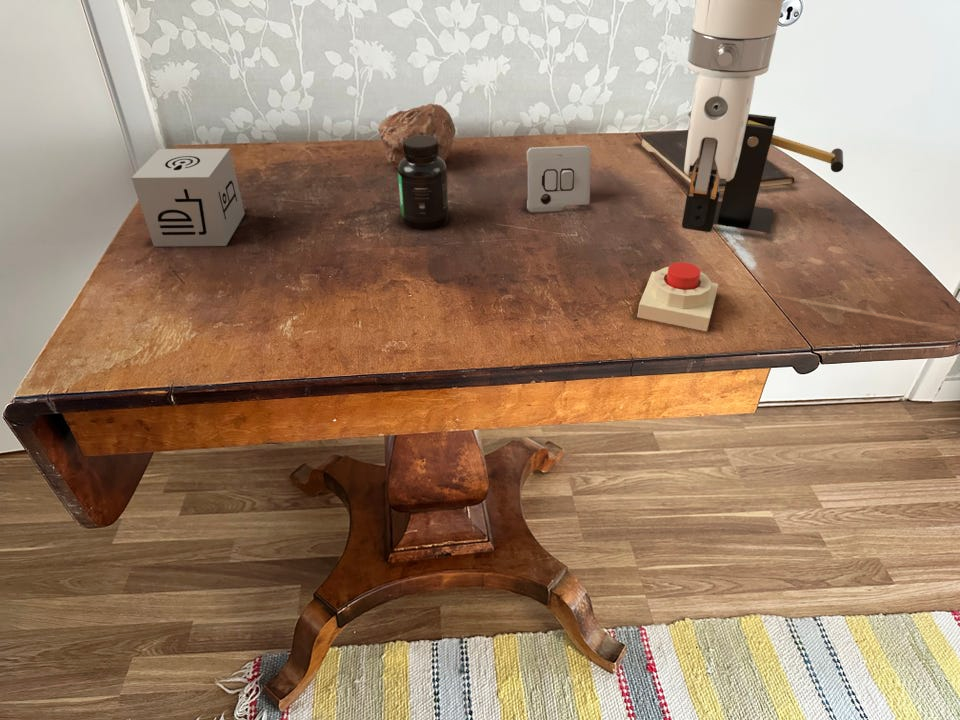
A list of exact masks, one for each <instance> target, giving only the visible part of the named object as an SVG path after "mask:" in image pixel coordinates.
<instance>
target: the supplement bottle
mask: <svg viewBox="0 0 960 720" xmlns="http://www.w3.org/2000/svg"><path fill="white" fill-rule="evenodd" d="M403 155H404V157H405V158H403V159H402V160H401V161H400V163H399V165H398V169H397V180H398V181H397V182H398V192H399V204H400V215H401V222H402V224H403V225H404V226H405V227H407V228H409V229H412V230H418V231H428V230H436V229H438V228H441V227H443V226H445V225H446V224H447V223H448V221H449V197H448V169H447V167H448V166H447V164H446V161H444V160H443V159H442V158H440V157H439V156H438V155H439V146H438V140H437V138H435V137H432V136H427V135H417V136H411V137H408V138H406V139H405V140H404V141H403Z"/></svg>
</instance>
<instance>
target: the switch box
mask: <svg viewBox="0 0 960 720" xmlns="http://www.w3.org/2000/svg"><path fill="white" fill-rule="evenodd" d="M668 268H669V266H665V267H663V268H660V269H659V270H657V271H651V274H650V275H649V279H648V281H647V283H646V286H645V288H644V290H643V293H642V296H641V299H640V301H639V303H638V310H637V316H636V317H637V318H639V319H644V320H649V321H654V322H659V323H664V324H668V325H673V326H678V327H682V328H683V327H684V328H688V329H693V330H698V331H701V332H708V329H709V324H710V321H711V316H712V313H713V309H714V304H715V301H716V297H717V292H718V288H719V283H717V282H712V281H711V279H710V278H709V277H708V275H707V274H706V273H703V272H702V271H700V277H699V282H698V286H697V287H696V288H695V289H692V290H681V289H676V288H673V287H671V286H669V285H667V283H666V279H667V273H668Z"/></svg>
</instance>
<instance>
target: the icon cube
mask: <svg viewBox="0 0 960 720" xmlns="http://www.w3.org/2000/svg"><path fill="white" fill-rule="evenodd" d="M131 181H132V184H133V187H134V190H135V193H136V196H137V199H138V203H139V206H140V208H141V212H142V215H143V217H144V221H145V224H146V226H147V227H146V228H147V230H148V233H149V236H150V239H151V243H152V245H153V246H152V247H154V248H155V247H157V248H158V247H227V245H228V243H229V242H230V240H231V239H232V238H233V235H234V233H235V232H236V230H237V228H238V227H239V225H240V223H241V221H242V219H243V218H244V216H245V215H246V212H245V208H244V204H243V199H242V196H241V190H240V186H239V182H238V177H237V173H236V168H235V165H234V159H233V156H232V151H231V148H158V149H157V150H156V152H154V154H152V156H151V157H150V158H148V160H147V161H146V162H145V163H144V164H143V165H142V166H141V167H140V168H139V169H138V170H137V171H136V172H135V173H134V174H133V176H132V177H131Z"/></svg>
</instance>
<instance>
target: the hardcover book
mask: <svg viewBox="0 0 960 720" xmlns="http://www.w3.org/2000/svg"><path fill="white" fill-rule="evenodd" d="M688 132H689V129H686V130H685V129H684V130H675V131H662V132H653V133H642V134H640V135H639V137H640V138H641V139H642V140H641V145H640V146H641V148H643V149H644V150H645V151H646V152H649V153H655V154H656V155H657V156H658V157H660V158H661V159H662V160H663V161H664V162H666V163H667V164H668V165H669V166H670V167H671V168H672V169H674V170H675V171H676V172H677V173H678V174H679V175H681V176H682V177H683V178H684V180H686V181H687V182H689V183H691V177H692V174H690V176H687V175H686V174H685V172H684V165H685V156H686V147H687V139H688ZM794 183H795V177H794V176H792V175H791V174H790V173H788V172H787V171H785V170H784V169H782V168H780V167H779V166H778V165H776V164H775V163H774V162H772V161H771V160H770V159H768V158H767V159H766V163H765V167H764V171H763V175H762V179H761V183H760V187H759V188H761V187H769V186H778V185H788V184H789V185H790V184H794ZM725 185H726V179H720V183H719V188H718V191H717V192H724V189H725Z"/></svg>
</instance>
